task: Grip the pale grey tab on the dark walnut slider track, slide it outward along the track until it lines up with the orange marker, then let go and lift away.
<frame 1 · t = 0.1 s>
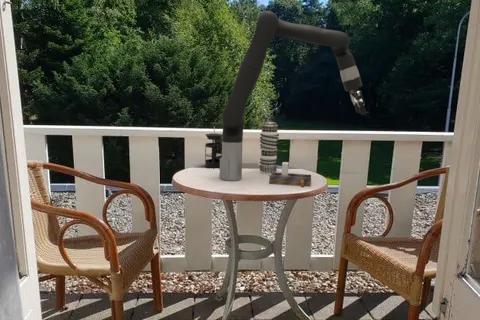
hand: (361, 113, 184), 31 cm above the table, tool tilted 20°, fingers open, 8 cm apart
slider track: (290, 182, 187), on the table
french press: (214, 167, 217), on the table
decorative candle: (268, 173, 207), on the table
slider tab: (285, 170, 187), point 5 cm above the table, slide at 0.0 cm
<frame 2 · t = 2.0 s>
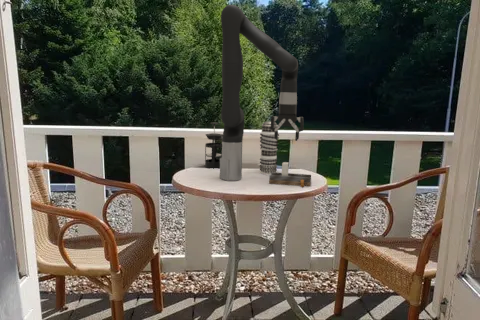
hand: (286, 140, 184), 19 cm above the table, tool pointing down, fingers open, 8 cm apart
nothing on the table moved.
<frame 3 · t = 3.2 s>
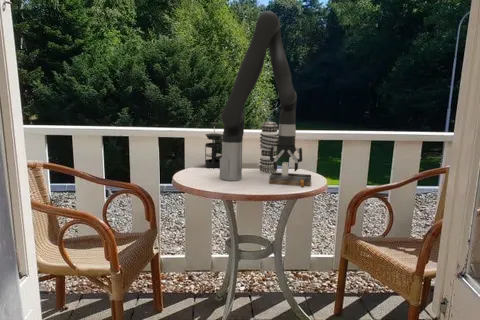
hand: (285, 170, 187), 5 cm above the table, tool pointing down, fingers open, 8 cm apart
nothing on the table moved.
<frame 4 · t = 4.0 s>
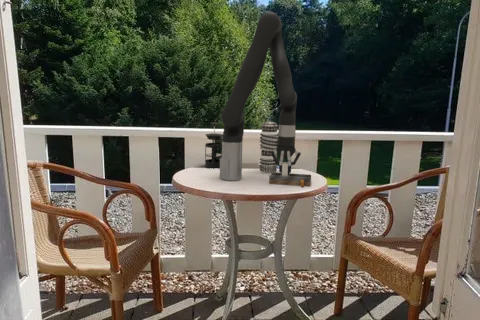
hand: (284, 173, 187), 4 cm above the table, tool pointing down, fingers closed on slider tab, 2 cm apart
slider tab: (285, 170, 187), point 5 cm above the table, slide at 0.0 cm, touching gripper
everything else where it was.
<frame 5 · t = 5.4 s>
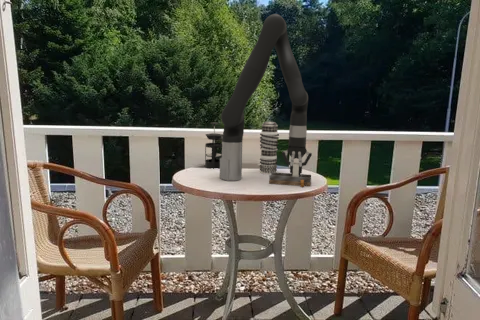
hand: (295, 174, 186), 4 cm above the table, tool pointing down, fingers closed on slider tab, 2 cm apart
slider tab: (295, 171, 186), point 5 cm above the table, slide at 4.8 cm, touching gripper
everything else where it was.
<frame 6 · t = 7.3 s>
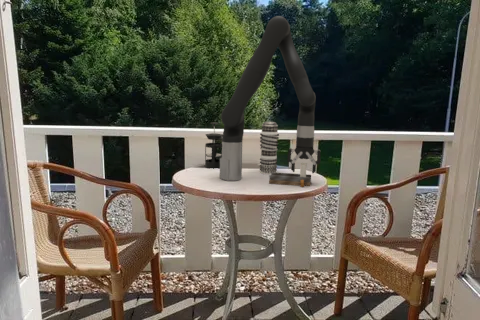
hand: (303, 172, 185), 5 cm above the table, tool pointing down, fingers open, 8 cm apart
slider tab: (303, 171, 185), point 5 cm above the table, slide at 8.0 cm
everything else where it was.
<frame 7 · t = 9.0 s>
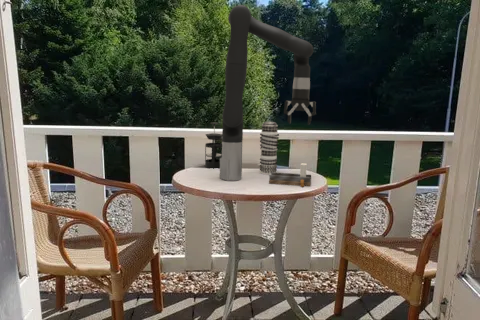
hand: (299, 124, 191), 25 cm above the table, tool pointing down, fingers open, 8 cm apart
nothing on the table moved.
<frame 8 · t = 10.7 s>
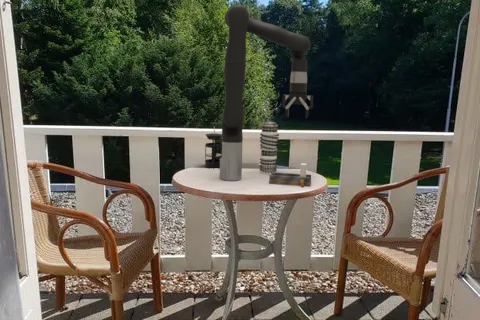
hand: (296, 117, 194), 28 cm above the table, tool pointing down, fingers open, 8 cm apart
nothing on the table moved.
at the end: slider tab slide at 8.0 cm; the gripper is holding nothing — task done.
